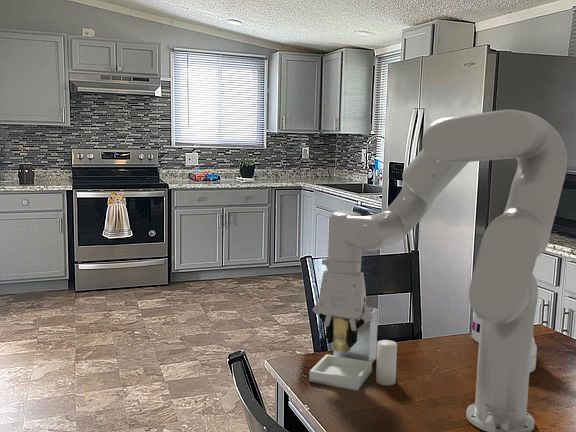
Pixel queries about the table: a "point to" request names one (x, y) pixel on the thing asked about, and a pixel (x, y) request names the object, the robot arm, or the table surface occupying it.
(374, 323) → the grey box
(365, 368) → the tray
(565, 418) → the table surface
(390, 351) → the cylinder
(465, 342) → the table surface
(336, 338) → the cylinder
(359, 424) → the table surface
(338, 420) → the table surface
